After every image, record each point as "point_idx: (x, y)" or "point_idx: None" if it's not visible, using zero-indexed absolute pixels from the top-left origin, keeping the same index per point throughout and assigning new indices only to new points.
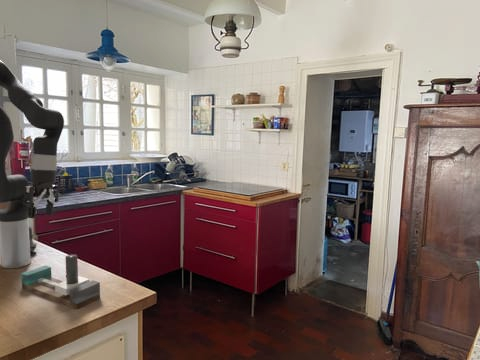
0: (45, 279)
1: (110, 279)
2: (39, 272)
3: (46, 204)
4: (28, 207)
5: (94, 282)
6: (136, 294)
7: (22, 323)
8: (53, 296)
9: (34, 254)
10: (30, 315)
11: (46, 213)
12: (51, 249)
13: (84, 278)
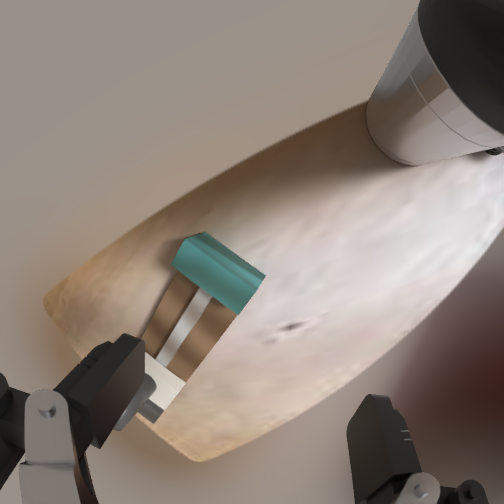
0: (206, 300)
1: (258, 419)
2: (205, 288)
3: (389, 474)
4: (53, 390)
5: (151, 416)
6: (189, 447)
7: (81, 297)
8: (144, 333)
9: (487, 152)
10: (99, 302)
11: (368, 404)
12: None
13: (166, 402)
